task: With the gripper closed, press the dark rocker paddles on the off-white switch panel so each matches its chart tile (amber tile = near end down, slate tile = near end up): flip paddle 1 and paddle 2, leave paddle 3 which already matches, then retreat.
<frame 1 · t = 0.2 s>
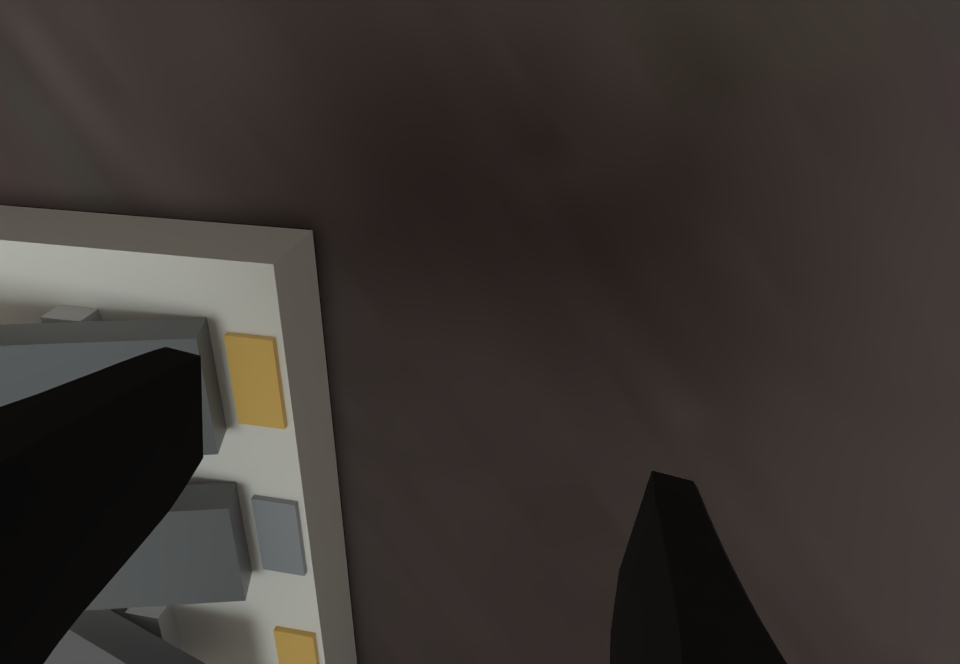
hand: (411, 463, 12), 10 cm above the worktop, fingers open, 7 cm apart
rocker 2: (104, 549, 24), point 4 cm above the worktop, hinge at 17.0°
rocker 3: (59, 393, 21), point 4 cm above the worktop, hinge at 17.0°
switch panel: (174, 463, 27), on the worktop
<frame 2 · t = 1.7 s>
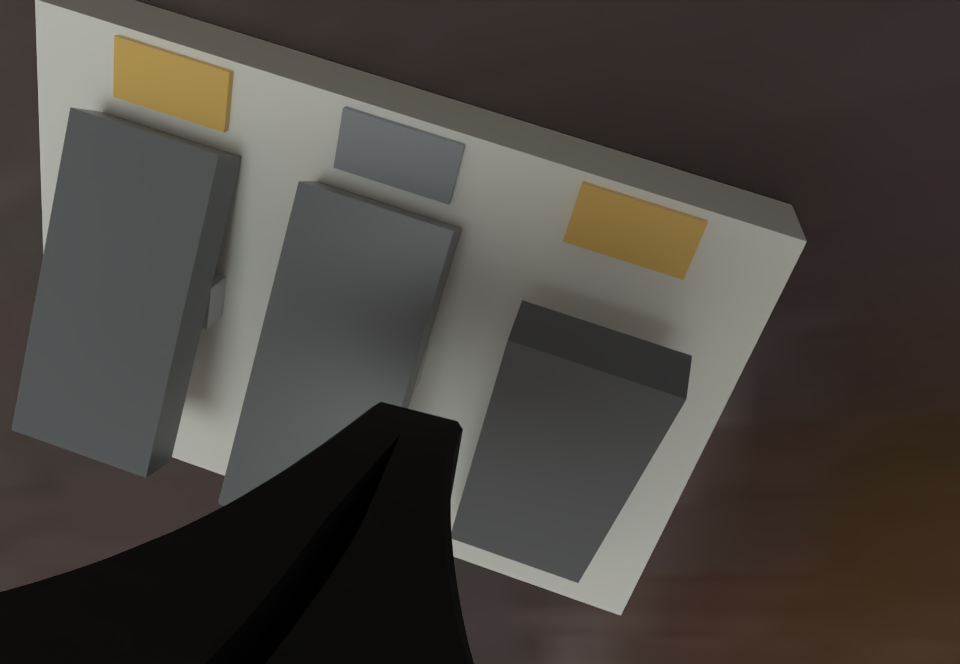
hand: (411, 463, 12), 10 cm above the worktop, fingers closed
rocker 2: (337, 368, 19), point 4 cm above the worktop, hinge at 17.0°
rocker 1: (553, 459, 19), point 4 cm above the worktop, hinge at -17.0°
rocker 3: (124, 296, 19), point 4 cm above the worktop, hinge at 17.0°
switch panel: (391, 301, 23), on the worktop
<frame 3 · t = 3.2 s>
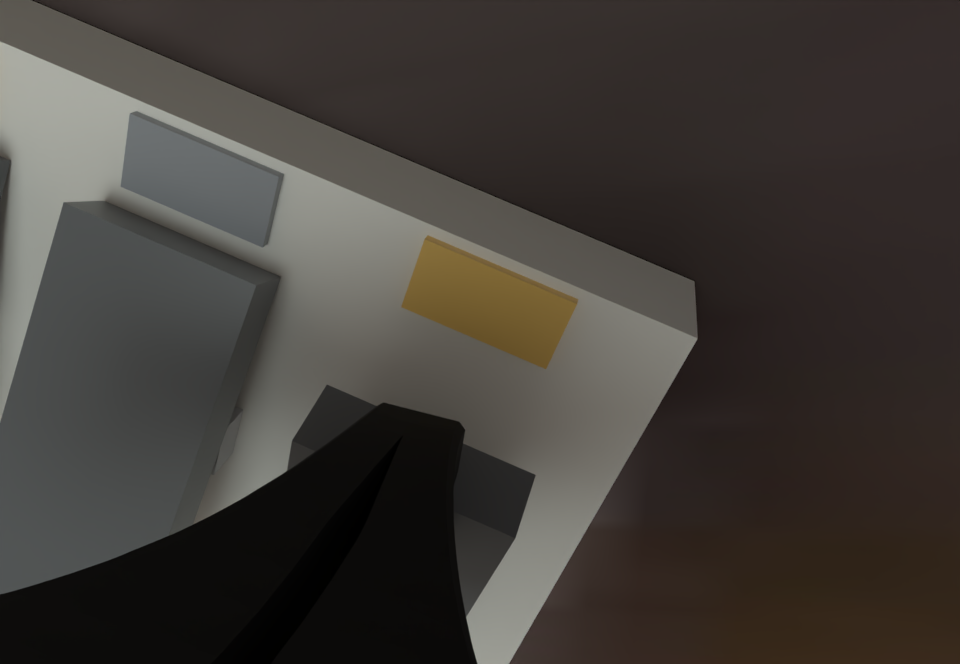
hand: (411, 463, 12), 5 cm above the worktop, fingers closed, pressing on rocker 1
rocker 2: (112, 438, 15), point 4 cm above the worktop, hinge at 17.0°
rocker 1: (374, 572, 15), point 4 cm above the worktop, hinge at -16.3°, touching gripper
switch panel: (223, 344, 19), on the worktop
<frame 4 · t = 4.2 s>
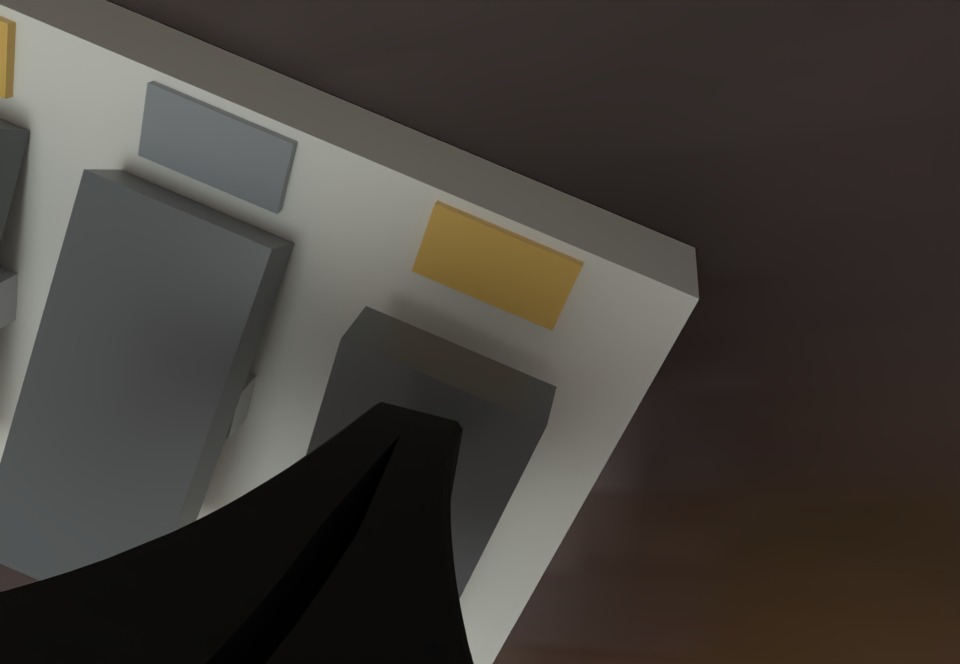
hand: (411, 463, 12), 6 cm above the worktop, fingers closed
rocker 2: (131, 401, 15), point 4 cm above the worktop, hinge at 17.0°
rocker 1: (388, 523, 15), point 4 cm above the worktop, hinge at -1.3°
switch panel: (234, 315, 19), on the worktop
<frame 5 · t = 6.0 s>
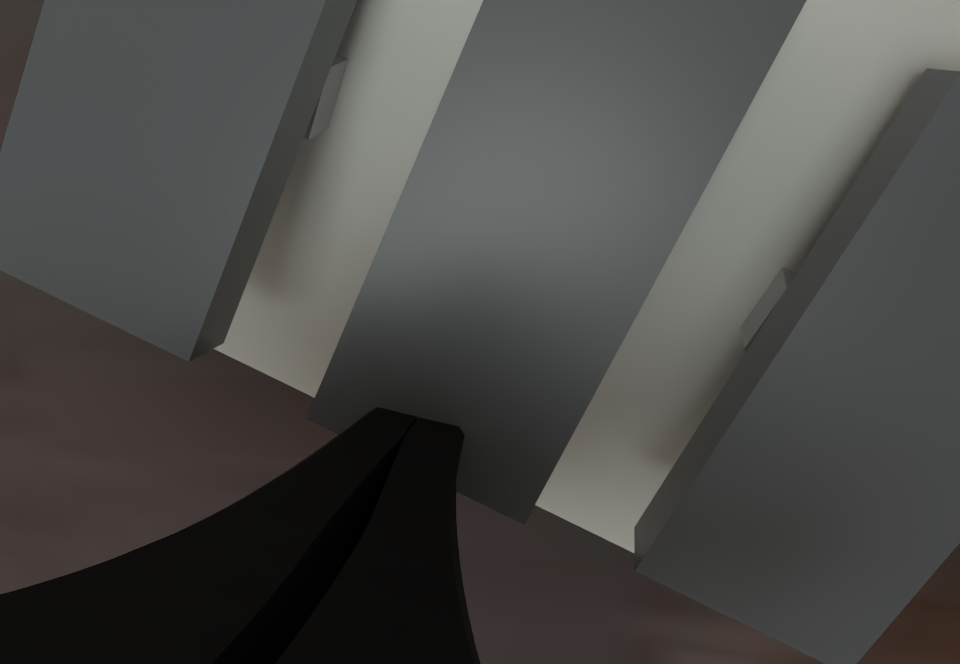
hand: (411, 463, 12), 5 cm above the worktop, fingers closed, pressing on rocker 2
rocker 2: (534, 222, 11), point 4 cm above the worktop, hinge at 15.3°, touching gripper
rocker 1: (883, 396, 11), point 4 cm above the worktop, hinge at 9.1°
rocker 3: (187, 53, 11), point 4 cm above the worktop, hinge at 17.0°
switch panel: (570, 153, 15), on the worktop
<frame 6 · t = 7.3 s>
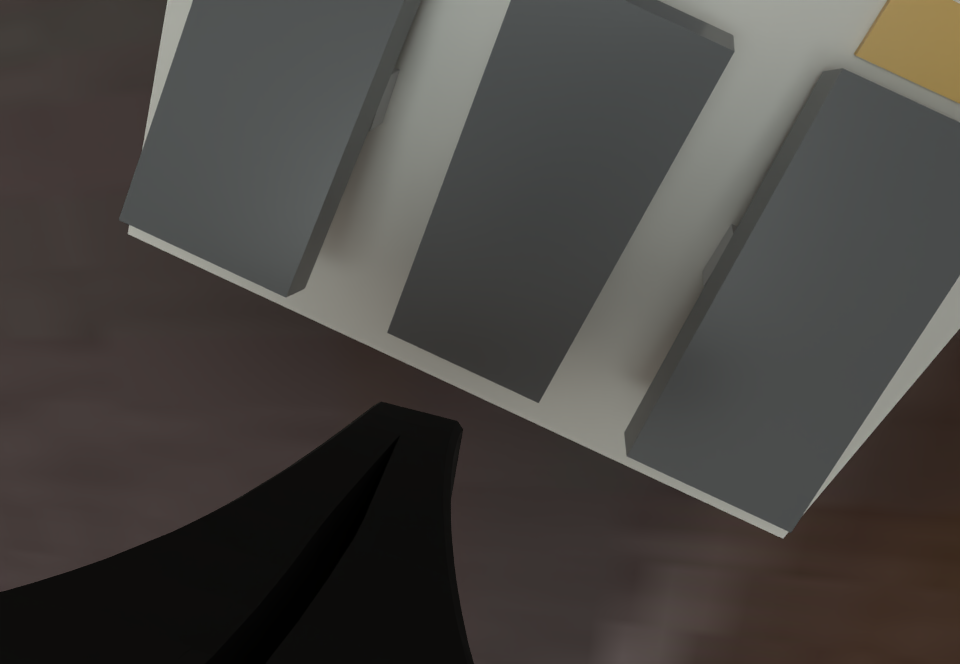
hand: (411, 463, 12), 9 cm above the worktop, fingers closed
rocker 2: (539, 201, 15), point 4 cm above the worktop, hinge at -5.1°
rocker 1: (806, 311, 15), point 4 cm above the worktop, hinge at 12.4°
rocker 3: (285, 66, 15), point 4 cm above the worktop, hinge at 17.0°
switch panel: (567, 143, 19), on the worktop
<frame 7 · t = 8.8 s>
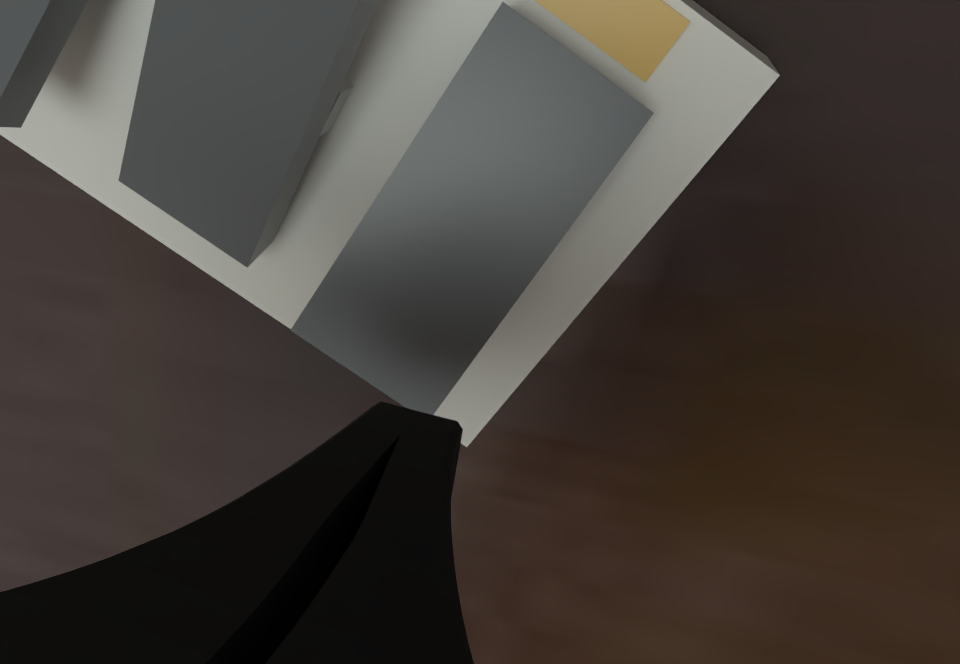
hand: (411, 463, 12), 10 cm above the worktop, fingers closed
rocker 2: (238, 86, 17), point 4 cm above the worktop, hinge at -15.3°
rocker 1: (465, 223, 17), point 4 cm above the worktop, hinge at 14.3°
switch panel: (321, 48, 20), on the worktop
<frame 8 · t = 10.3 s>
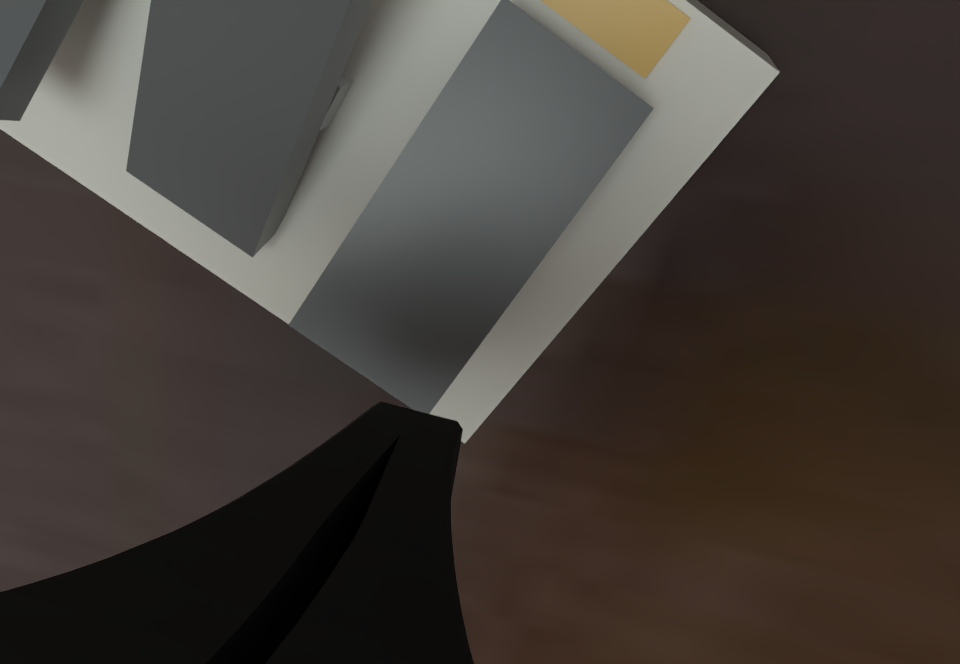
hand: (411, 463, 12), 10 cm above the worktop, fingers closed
rocker 2: (237, 82, 17), point 4 cm above the worktop, hinge at -20.0°, touching switch panel
rocker 1: (464, 218, 17), point 4 cm above the worktop, hinge at 15.2°
switch panel: (321, 43, 20), on the worktop
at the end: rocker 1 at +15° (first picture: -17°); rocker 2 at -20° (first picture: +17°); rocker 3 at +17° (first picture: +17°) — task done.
